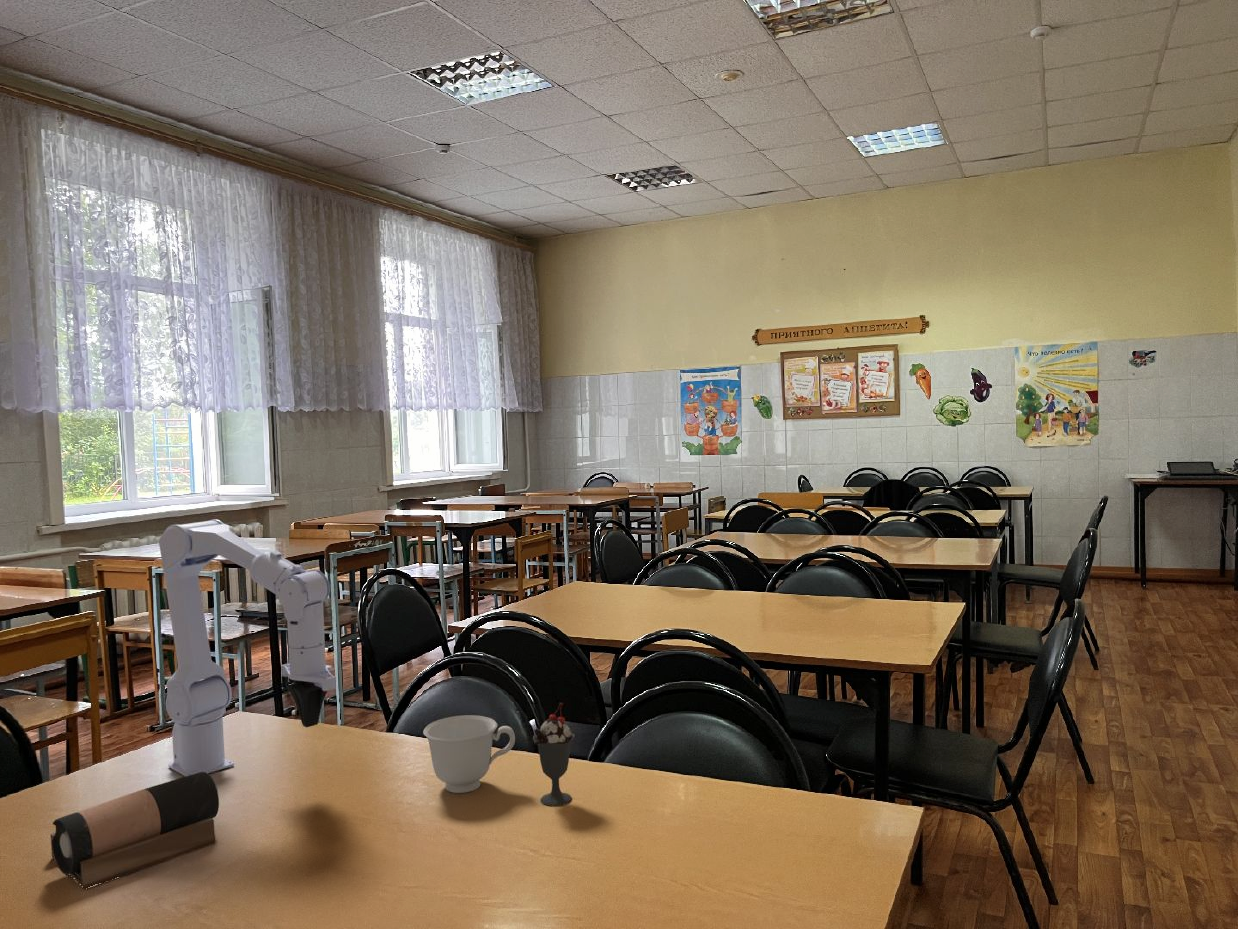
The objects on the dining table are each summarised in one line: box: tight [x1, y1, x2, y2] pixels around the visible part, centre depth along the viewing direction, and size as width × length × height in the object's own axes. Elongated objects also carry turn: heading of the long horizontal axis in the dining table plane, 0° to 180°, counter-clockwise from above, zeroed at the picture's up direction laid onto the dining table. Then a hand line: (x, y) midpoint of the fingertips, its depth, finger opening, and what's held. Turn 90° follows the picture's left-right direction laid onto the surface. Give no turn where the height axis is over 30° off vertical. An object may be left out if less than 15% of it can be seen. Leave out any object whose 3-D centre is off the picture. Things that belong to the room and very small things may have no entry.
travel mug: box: [50, 772, 220, 875], centre depth 129 cm, size 8×8×20 cm
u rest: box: [50, 818, 216, 890], centre depth 129 cm, size 14×17×4 cm
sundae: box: [532, 702, 576, 807], centre depth 142 cm, size 7×7×15 cm
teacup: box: [422, 714, 516, 794], centre depth 148 cm, size 12×15×10 cm
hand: (310, 725), depth 150 cm, fingers closed
